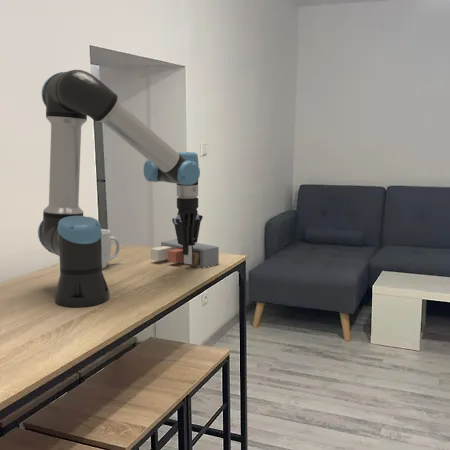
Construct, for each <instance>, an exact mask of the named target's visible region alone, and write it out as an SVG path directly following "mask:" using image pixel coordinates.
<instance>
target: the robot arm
mask: <svg viewBox="0 0 450 450" xmlns="http://www.w3.org/2000/svg"><path fill="white" fill-rule="evenodd" d="M41 99H42V102H43V104H44V105H45V119H46V120H48V122H49V123H50V150H49V151H50V153H49V155H50V156H49V157H50V158H49V183H48V185H49V186H48V187H49V188H48V189H49V191H48V205H47V206H46V207H45V208H44V209H43V211H42V212H43V213H42V216H43V217H42V221H40V223H39V226H38V229H37V237H38V240H39V242H40V244H41V245H42V247H44V249H45V250H47V251H48V252H50V253H51V254H54V255H57V256H58V257H59V276H58V277H59V278H58V281H57V285H56V288H55V291H54V301H55V303H56V304H57V305H60V306H63V307H71V308H72V307H73V308H79V307H80V308H81V307H90V306H91V307H92V306H96V305H100V304H103V303H105V302H107V301H108V300H109V299H110V290H109V287H108V284H107V282H106V278H105V275H104V273H103V269H102V245H101V235H102V232H101V229H102V228H101V223H100V221H99V220H98V219H96V218H94V217H93V216H92V217H91V216H85V215H84V211H83V209H81V207H80V205H79V204H80V202H79V199H80V171H81V170H80V167H81V145H82V144H81V143H82V138H81V137H82V126H83V125H84V124H85V123H86V122H87V121H88V117H89V118H91V119H92V120H93V121H94V122H96V123H103V124H104V125H105V126H106V127H108V128H109V129H110V130H111V131H113V132H114V133H115V134H116V135H117V136H118V137H120V138H121V139H122V140H124V142H126V143H127V144H129V146H131V147H132V148H133V149H134V150H136V151H137V152H138V153H139V154H140V155H142V157H144V158H145V159H146V160H145V162H144V164H143V176H144V178H145V180H146V181H148V182H151V183H152V182H154V183H157V182H164V183H170V184H176V196H177V198H176V208H177V214H176V215H177V216H176V217H175V218H172V220H171V221H172V223H173V225H174V229H175V234H176V239H177V240H178V244H180V245H182V246H183V255H184V263H185V264H184V265H187V264H192V253H193V245H195V243H198V239H199V234H200V227H201V222H202V220H203V217H204V216H203V215H202V214H201V215H200V214H199V212H198V209H199V198H198V196H199V179H200V176H201V170H200V167H199V166H200V165H199V155H198V154H197V152H194V151H180V152H177V150H175V149H174V148H173V147H172V146H170V145H169V143H167V142H166V141H165V140H163V138H161V137H160V136H159V135H158V134H157V133H155V132H154V131H153V130H152V129H151V128H150V127H148V125H147V124H145V123H144V122H143V121H141V119H139V118H138V117H137V116H136V115H135V114H133V112H131V111H130V110H129V109H128V108H127V107H126V106H125V105H123V103H121V102H120V101H119V99H120V98H119V95H118V94H117V93H115V92H114V91H113V90H112V89H111V88H110V87H108V86H107V85H106V84H105V83H104V82H103V81H102V80H100V79H99V78H97V77H96V76H95V75H93V74H92V73H90V72H88V71H85V70H82V69H72V70H68V71H62V72H61V71H60V72H57V73H55V74H52V75H51V76H49V77H48V78H47V79H46V80H45V82H44V83H43V86H42V89H41Z"/></svg>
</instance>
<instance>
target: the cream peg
mask: <svg viewBox="0 0 450 450" xmlns="http://www.w3.org/2000/svg"><path fill="white" fill-rule="evenodd" d="M168 250H173V246H168V245H166V246H156V247H153V248H150V260H151V261H152V260H153V261H157V262H160V261H166V260H165V259H168Z"/></svg>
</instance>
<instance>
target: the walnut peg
mask: <svg viewBox="0 0 450 450" xmlns="http://www.w3.org/2000/svg"><path fill="white" fill-rule="evenodd" d="M192 264H193V265H197V264H200V252H198V251H193V253H192Z"/></svg>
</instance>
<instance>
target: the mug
mask: <svg viewBox="0 0 450 450" xmlns="http://www.w3.org/2000/svg"><path fill="white" fill-rule="evenodd" d="M101 232H102V235H101V245H102V270H103V269H105V268H107V267H108V266H107V265H108V264H109V261H112V260H113V259H115V258H116V257H117V256H118V255H119V252H120V250H121V249H120V247H121V245H120V242H119V239H117V238H116V237H114V236H111V234H112V233H111V230H110V229H105V228H101ZM112 240H113V241H114V242H115V244H116V249H115V252H114V253H113V254H112V255H111V253H112V251H111V249H112V248H111V247H112Z"/></svg>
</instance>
